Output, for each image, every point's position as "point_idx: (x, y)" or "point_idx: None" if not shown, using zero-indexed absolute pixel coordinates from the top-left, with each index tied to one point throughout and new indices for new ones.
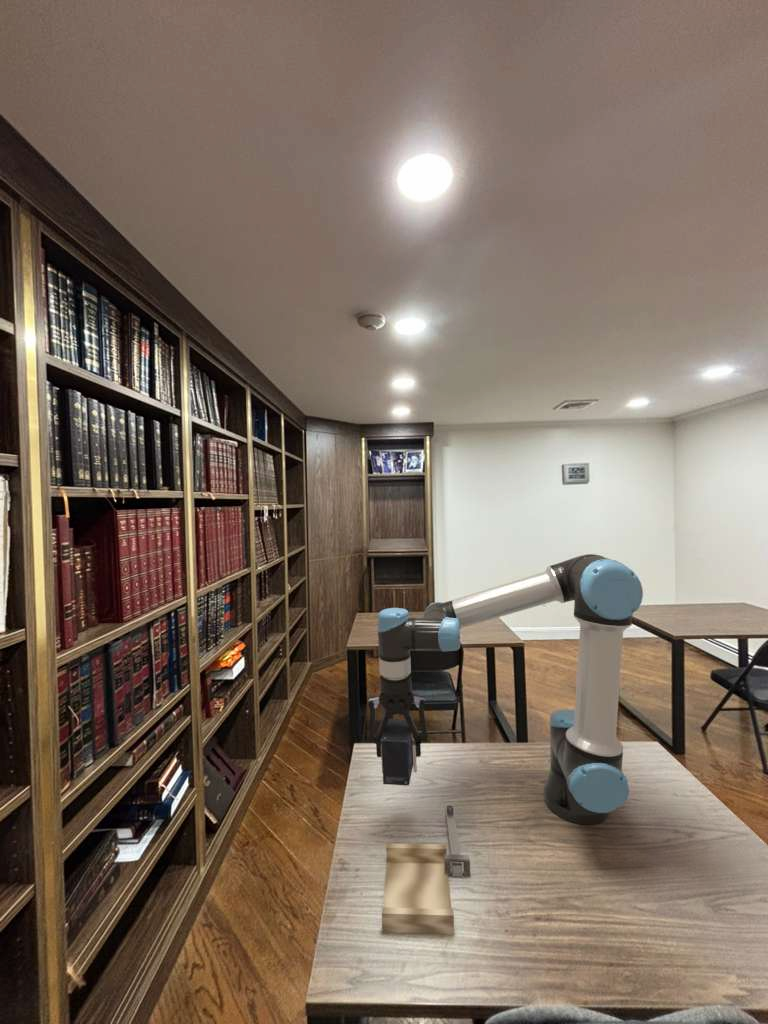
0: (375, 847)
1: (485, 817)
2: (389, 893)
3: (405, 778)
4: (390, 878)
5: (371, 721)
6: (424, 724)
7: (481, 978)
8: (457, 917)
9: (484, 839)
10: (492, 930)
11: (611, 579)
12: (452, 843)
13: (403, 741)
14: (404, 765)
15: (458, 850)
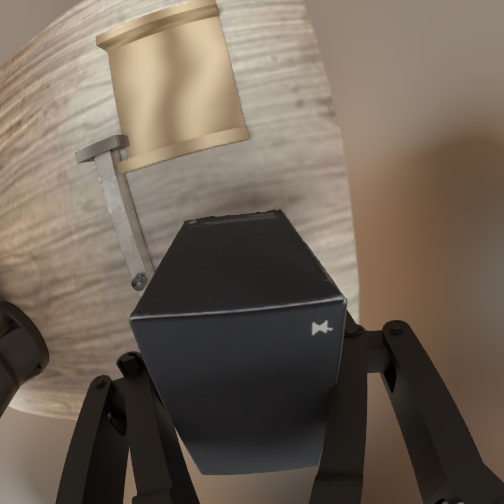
0: (280, 164)
1: (95, 294)
2: (220, 64)
3: (190, 227)
4: (226, 93)
5: (444, 410)
6: (75, 442)
7: (80, 17)
8: (104, 71)
9: (84, 242)
10: (62, 77)
11: None
12: (115, 193)
13: (149, 314)
14: (183, 245)
15: (102, 179)
